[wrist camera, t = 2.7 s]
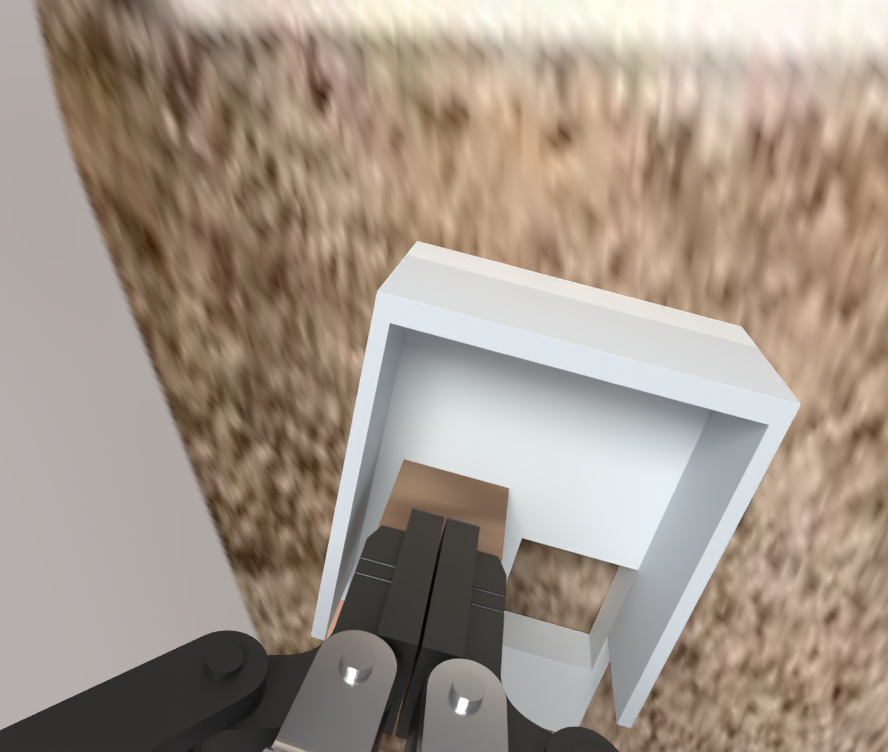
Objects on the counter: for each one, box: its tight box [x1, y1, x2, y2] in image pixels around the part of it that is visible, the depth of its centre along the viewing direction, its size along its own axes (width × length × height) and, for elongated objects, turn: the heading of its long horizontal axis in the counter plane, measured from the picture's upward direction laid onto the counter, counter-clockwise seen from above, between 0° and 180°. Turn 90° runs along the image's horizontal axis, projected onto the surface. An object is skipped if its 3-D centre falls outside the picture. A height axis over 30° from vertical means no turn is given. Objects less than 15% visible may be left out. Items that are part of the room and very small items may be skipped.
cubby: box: [311, 241, 801, 732], centre depth 24 cm, size 12×19×6 cm, turn 167°
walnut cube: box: [378, 459, 509, 561], centre depth 24 cm, size 4×4×4 cm
